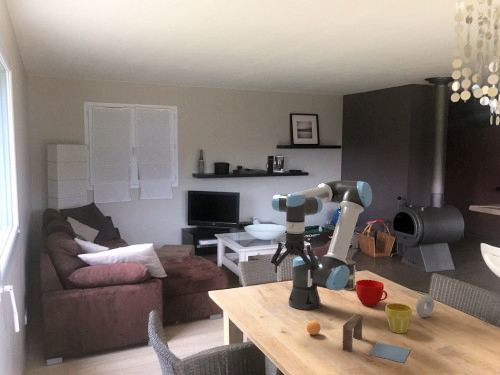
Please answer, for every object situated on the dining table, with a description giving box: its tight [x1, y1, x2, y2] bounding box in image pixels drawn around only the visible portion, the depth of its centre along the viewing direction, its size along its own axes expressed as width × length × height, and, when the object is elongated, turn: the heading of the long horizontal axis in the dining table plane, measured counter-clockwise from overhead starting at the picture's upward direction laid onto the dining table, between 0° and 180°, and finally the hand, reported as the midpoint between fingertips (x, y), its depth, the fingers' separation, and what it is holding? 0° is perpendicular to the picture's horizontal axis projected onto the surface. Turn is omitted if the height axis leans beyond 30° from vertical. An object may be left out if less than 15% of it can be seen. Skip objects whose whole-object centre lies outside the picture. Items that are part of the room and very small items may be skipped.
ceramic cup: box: [355, 279, 388, 307], centre depth 208 cm, size 13×17×10 cm
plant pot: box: [385, 302, 413, 334], centre depth 179 cm, size 10×10×10 cm
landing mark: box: [369, 341, 412, 364], centre depth 159 cm, size 12×12×1 cm
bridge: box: [342, 313, 364, 352], centre depth 166 cm, size 3×14×9 cm, turn 149°
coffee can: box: [341, 258, 357, 291], centre depth 235 cm, size 10×10×14 cm
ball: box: [306, 319, 321, 336], centre depth 174 cm, size 6×6×6 cm
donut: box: [415, 294, 435, 318], centre depth 193 cm, size 10×4×10 cm, turn 120°
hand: (294, 283), depth 178 cm, fingers open, 13 cm apart
